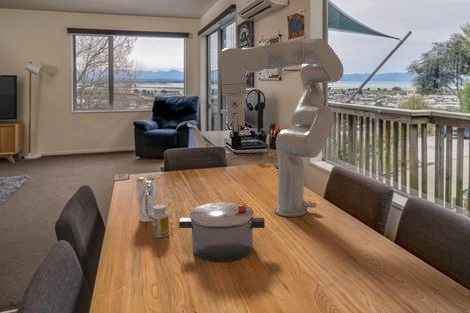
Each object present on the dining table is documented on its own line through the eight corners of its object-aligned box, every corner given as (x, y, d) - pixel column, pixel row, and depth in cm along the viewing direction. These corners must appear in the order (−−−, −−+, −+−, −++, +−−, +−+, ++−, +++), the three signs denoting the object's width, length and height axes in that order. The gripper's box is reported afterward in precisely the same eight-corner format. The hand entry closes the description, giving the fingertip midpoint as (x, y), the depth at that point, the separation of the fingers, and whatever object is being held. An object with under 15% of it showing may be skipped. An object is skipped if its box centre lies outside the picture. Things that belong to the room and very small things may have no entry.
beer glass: (138, 223, 132) (135, 182, 129) (137, 217, 139) (135, 178, 136) (158, 221, 134) (155, 181, 131) (156, 215, 141) (154, 176, 138)
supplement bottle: (170, 231, 125) (168, 203, 123) (167, 237, 120) (166, 209, 118) (154, 231, 125) (152, 204, 123) (151, 238, 120) (149, 209, 118)
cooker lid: (252, 205, 119) (252, 196, 118) (254, 227, 100) (253, 216, 100) (194, 206, 119) (194, 196, 119) (185, 227, 101) (185, 216, 101)
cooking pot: (262, 235, 120) (263, 206, 118) (265, 262, 103) (265, 228, 101) (186, 235, 121) (184, 206, 119) (175, 262, 104) (174, 228, 102)
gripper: (247, 90, 107) (249, 152, 111) (245, 88, 122) (247, 143, 126) (221, 91, 107) (224, 153, 111) (222, 89, 122) (225, 144, 126)
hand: (236, 148), depth 119 cm, fingers closed
